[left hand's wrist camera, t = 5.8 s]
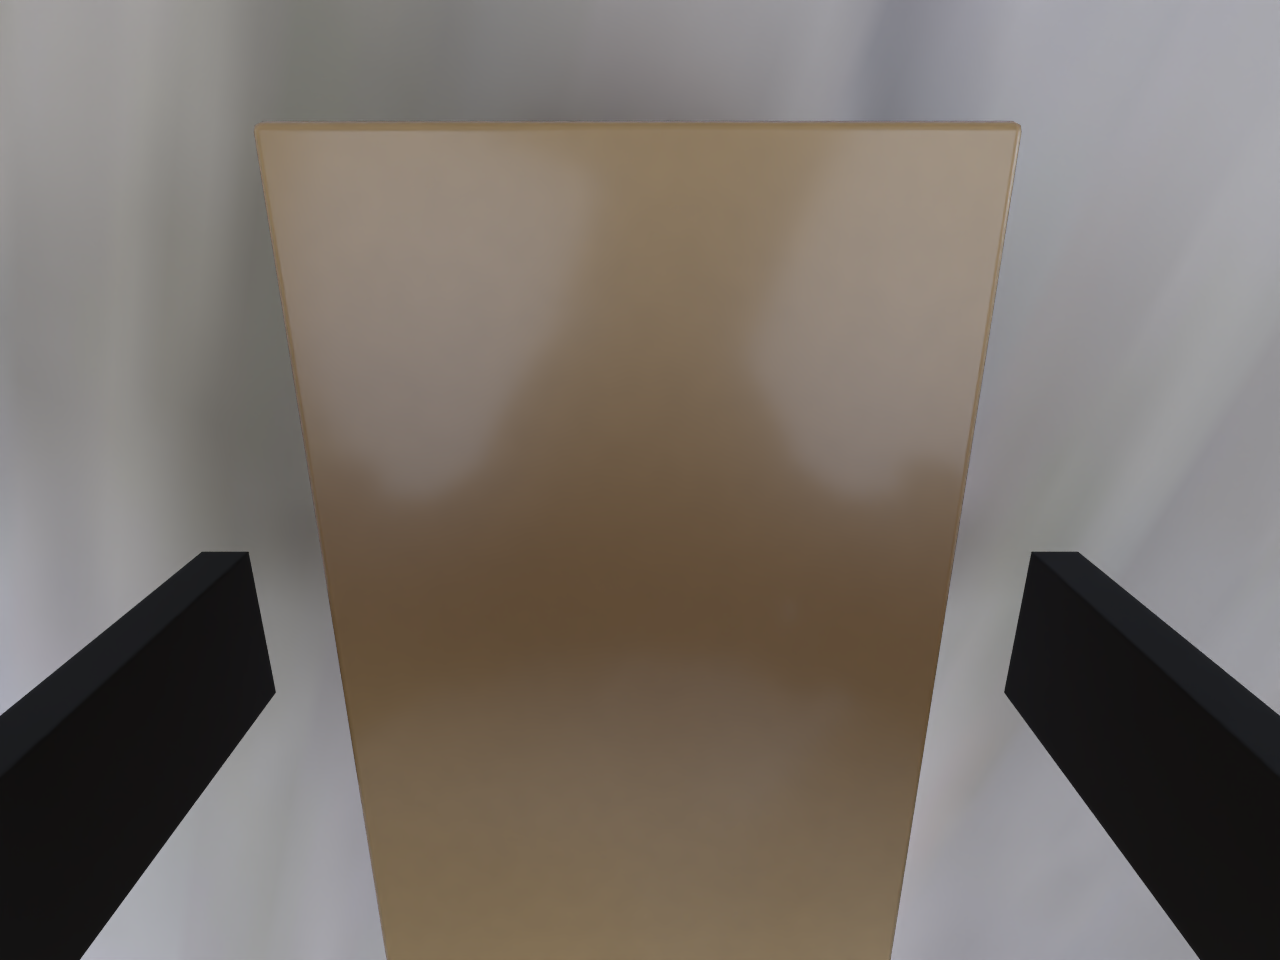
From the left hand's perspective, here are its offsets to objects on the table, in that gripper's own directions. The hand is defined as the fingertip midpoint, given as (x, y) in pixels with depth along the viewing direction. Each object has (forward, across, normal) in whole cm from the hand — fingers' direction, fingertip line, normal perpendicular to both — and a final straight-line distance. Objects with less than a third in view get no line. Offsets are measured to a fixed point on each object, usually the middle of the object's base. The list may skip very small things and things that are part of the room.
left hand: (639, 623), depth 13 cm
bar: (+3, 0, -24) cm, 24 cm away
